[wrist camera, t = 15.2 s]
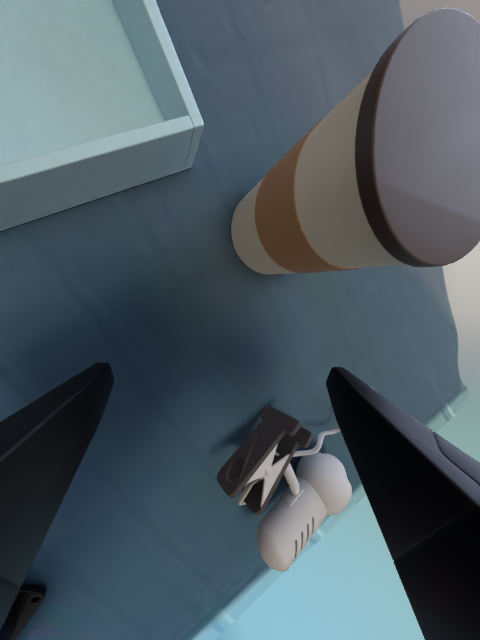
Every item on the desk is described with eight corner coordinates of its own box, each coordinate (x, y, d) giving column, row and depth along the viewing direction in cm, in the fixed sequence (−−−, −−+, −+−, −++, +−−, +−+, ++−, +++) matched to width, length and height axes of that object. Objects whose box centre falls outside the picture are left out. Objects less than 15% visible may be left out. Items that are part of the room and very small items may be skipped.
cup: (249, 290, 18) (398, 301, 7) (213, 203, 16) (344, 22, 5) (313, 257, 20) (514, 224, 9) (289, 175, 18) (511, -6, 7)
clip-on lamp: (328, 348, 26) (202, 456, 18) (384, 354, 21) (241, 513, 12) (355, 426, 29) (255, 553, 20) (413, 450, 23) (307, 638, 15)
